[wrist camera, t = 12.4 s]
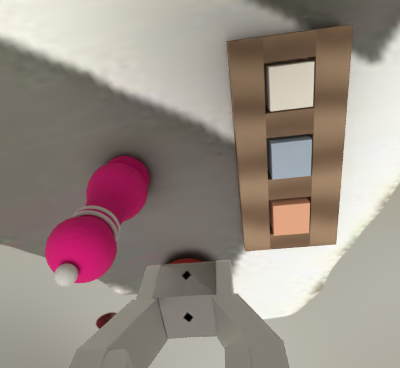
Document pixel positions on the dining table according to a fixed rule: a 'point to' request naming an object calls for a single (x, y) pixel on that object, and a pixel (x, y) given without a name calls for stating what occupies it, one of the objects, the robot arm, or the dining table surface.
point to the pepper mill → (97, 222)
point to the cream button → (289, 85)
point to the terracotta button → (289, 216)
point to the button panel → (290, 132)
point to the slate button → (289, 156)
